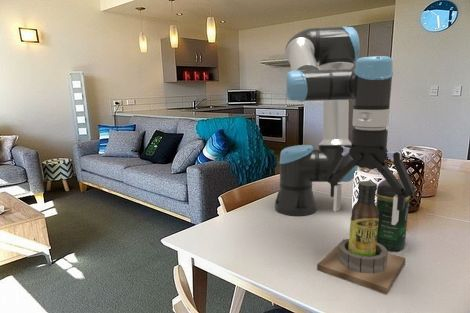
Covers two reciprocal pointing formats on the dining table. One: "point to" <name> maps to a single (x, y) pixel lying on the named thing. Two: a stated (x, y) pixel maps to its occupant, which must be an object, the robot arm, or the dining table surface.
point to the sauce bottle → (364, 221)
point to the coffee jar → (390, 218)
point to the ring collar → (363, 267)
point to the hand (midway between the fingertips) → (364, 216)
